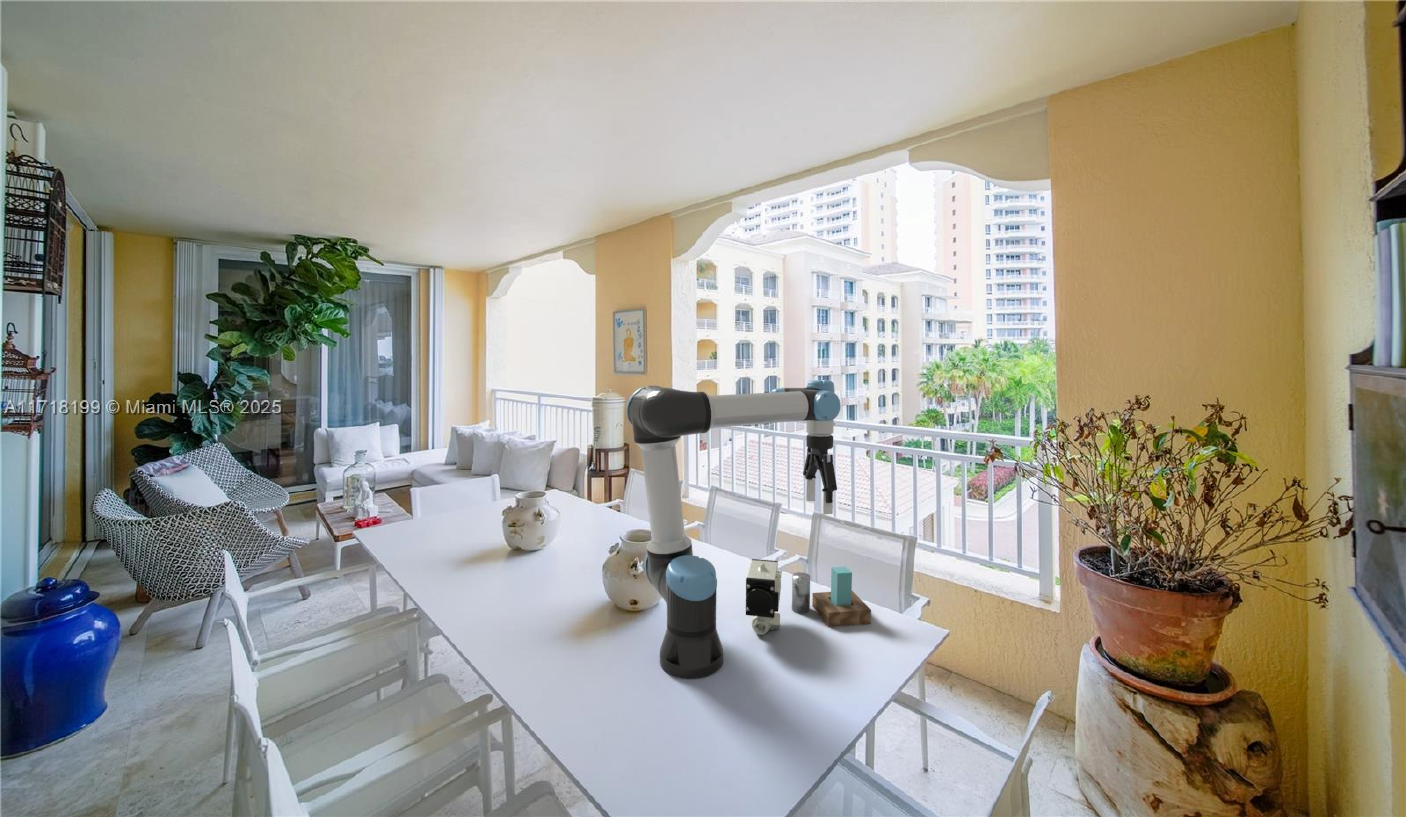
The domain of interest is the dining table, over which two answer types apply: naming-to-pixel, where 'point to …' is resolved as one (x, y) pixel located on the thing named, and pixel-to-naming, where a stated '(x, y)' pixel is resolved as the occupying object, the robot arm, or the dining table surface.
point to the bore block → (841, 610)
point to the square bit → (841, 586)
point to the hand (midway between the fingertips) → (818, 507)
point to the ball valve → (763, 595)
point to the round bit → (801, 593)
